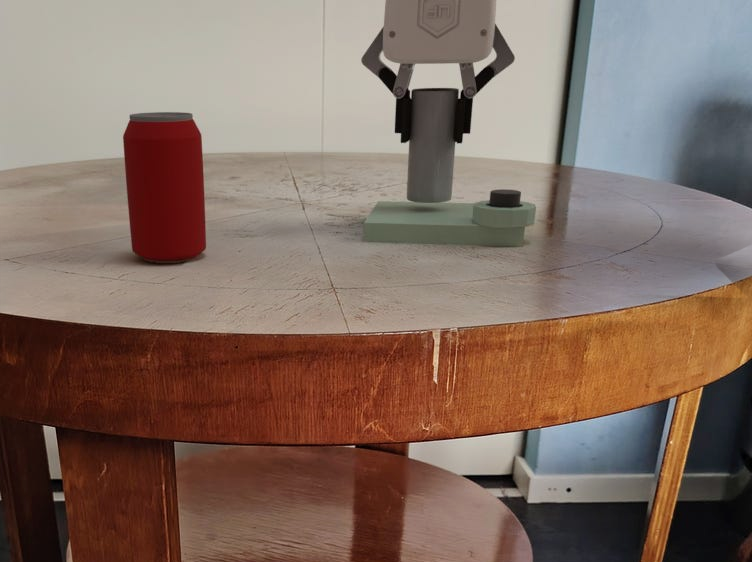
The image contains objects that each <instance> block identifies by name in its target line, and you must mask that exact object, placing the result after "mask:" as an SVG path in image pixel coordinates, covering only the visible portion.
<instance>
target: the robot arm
mask: <svg viewBox="0 0 752 562" xmlns="http://www.w3.org/2000/svg"><path fill="white" fill-rule="evenodd" d="M384 6H385V7H384V15H383V26H382V27H381V29H380V30H379V32H378V33H377V35H376V36H375V38H374V39H373V41H372V42H371V44H370V45H369V47H368V48H367V49H366V51H365V52H364V53H363V55H362V57H361V58H360V59H361V60H360V61H361V64H362V65H363V66H364V67H365V68H366V69H368V71H370V72H371V73H372V74H373V75H375V76H376V77H377V78H378V79H379V80H380V81H381V82H382V83H383V85H385V87H386V88H387V89H388V90H389V91H390V93H391V94H392V95H393V97H394V98H395V115H394V116H395V117H394V134H400V144H407V143H409V135H410V115H411V91H410V89H409V87H410V85H411V80H412V77H413V73H414V70H415V66H416V65H417V64H418V65H419V64H420V65H423V64H424V65H427V64H433V65H434V64H437V65H438V64H440V65H441V64H443V65H445V64H458V65H459V72H460V77H461V84H462V89H461V91H460V92H459V93H460V95H459V97H458V103H457V116H456V130H455V143H456V144H463V138H464V134H467V135H470V134H471V129H472V118H473V117H472V115H473V103H474V97H476V95H477V94H478V93H479V92H480V91H481V90H483V88H484V87H485V86H486V85H487V84H488V83H490V81H492V80H493V79H494V78H495V77H496V76H498V75H499V74H500V73H502V72H503V71H504V70H506V69H507V68H508V67H510V66H511V65H513V63H514V62H515V59H516V58H515V54H514V53H513V51H512V49H511V48H510V46H509V44H508V42H507V41H506V39H505V37H504V36H503V34H502V32H501V31H500V29H499V27H498V25H497V23H496V16H497V15H496V14H497V13H496V12H497V0H385V3H384ZM493 50H494V52H495V55H496V56H495V58H494V60H493V61H491V62H489V64H487V65H486V66H485V67H483V68H482V69H481V70H480V71H479V72H478V73H477V74H475V67H474V63H479V62H482V61H484V60H485V59H488V57H489V56H490V55H491V53H492V51H493ZM382 54H383V56H384V58H385V59H386V60H388V61H389V62H392V63H394V64H399V67H398V71H397V74H396V73H395V72H394V71H393V70H392V68H391V67H389V66H388V65H386V64H385V62H383V61H382V60H381V55H382Z"/></svg>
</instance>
